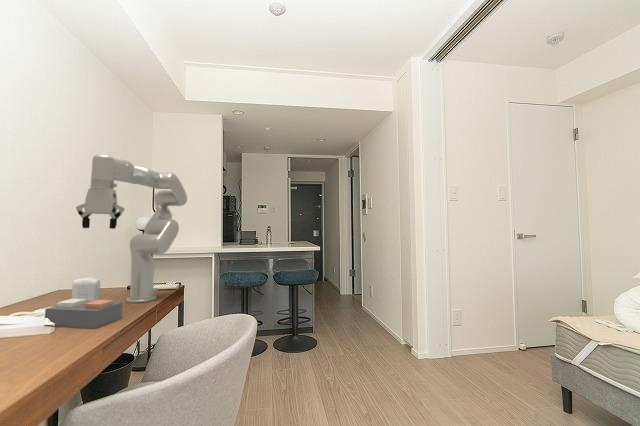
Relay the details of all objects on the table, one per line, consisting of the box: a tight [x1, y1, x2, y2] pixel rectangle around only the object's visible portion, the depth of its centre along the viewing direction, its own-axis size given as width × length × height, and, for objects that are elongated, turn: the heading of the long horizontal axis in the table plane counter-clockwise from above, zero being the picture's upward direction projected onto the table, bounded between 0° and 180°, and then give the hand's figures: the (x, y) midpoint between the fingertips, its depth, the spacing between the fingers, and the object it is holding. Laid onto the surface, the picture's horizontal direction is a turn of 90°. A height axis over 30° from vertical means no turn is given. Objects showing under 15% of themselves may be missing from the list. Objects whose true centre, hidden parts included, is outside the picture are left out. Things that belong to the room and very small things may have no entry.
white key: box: [56, 298, 87, 308], centre depth 111 cm, size 6×6×4 cm
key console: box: [44, 301, 123, 329], centre depth 110 cm, size 12×20×6 cm, turn 85°
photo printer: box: [71, 277, 101, 301], centre depth 131 cm, size 10×4×12 cm, turn 98°
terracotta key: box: [85, 299, 114, 309], centre depth 110 cm, size 6×6×4 cm
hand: (99, 228), depth 119 cm, fingers open, 9 cm apart
